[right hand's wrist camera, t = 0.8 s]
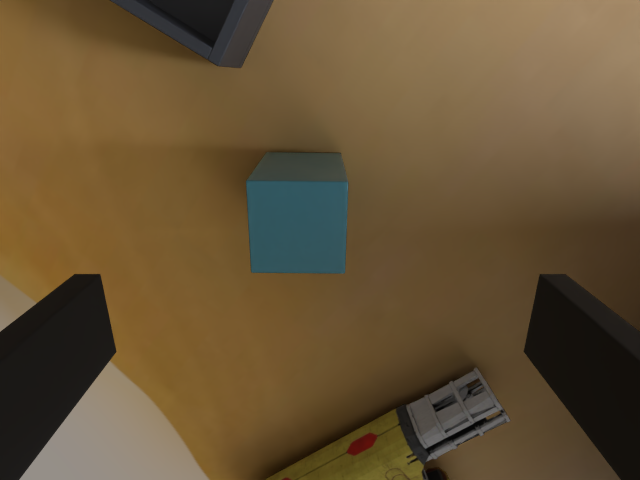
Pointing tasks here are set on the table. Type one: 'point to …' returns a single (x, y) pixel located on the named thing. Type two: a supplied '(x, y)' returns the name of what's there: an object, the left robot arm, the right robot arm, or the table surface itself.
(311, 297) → the table surface
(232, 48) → the tray
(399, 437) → the toy gun
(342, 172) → the block
